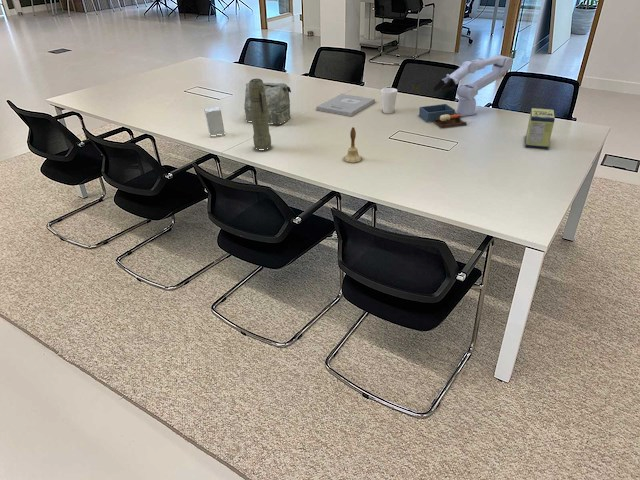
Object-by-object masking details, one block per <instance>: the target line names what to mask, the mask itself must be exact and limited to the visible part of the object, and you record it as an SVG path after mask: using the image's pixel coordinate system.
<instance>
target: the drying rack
mask: <svg viewBox="0 0 640 480" xmlns="http://www.w3.org/2000/svg"><path fill="white" fill-rule="evenodd" d="M455 115H456V113H455ZM467 122H468V121H464V120H462V116H459V117H458V118H454V119H450V120H448V119H446V121H441V120H440V119H437V120H435V121H433V123H434V124H435V125H436V126H438V127H439V128H440V129H445V128H446V129H447V128H454V127H462V126H467Z"/></svg>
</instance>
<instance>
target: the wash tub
mask: <svg viewBox="0 0 640 480" xmlns="http://www.w3.org/2000/svg"><path fill="white" fill-rule="evenodd" d="M455 111H456V109H454V108H453V107H451V106H450V105H448V104H447V103H442V104H433V105H425V106H419V112H418V117H420V118H422V120H423V121H425V122H426V123H432V122H433V123H434V121H435V120H437V119H440V116H441V115H446V114H448V115H455V114H456V113H455Z"/></svg>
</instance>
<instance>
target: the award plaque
mask: <svg viewBox="0 0 640 480" xmlns="http://www.w3.org/2000/svg"><path fill="white" fill-rule="evenodd" d="M374 103H376V99H375V98H372V97H367V96H366V97H364V96H359V95H353V94H347V93H340V94H338V95H336V96H335V97H332V98H331V99H328V100H327V101H325V102H323V103H320V104H319V105H317V106H316V108H315V109H316V111H320V112H325V113H329V114H330V113H331V114H337V115H342V116H348V117H353V116H354V115H355V114H357V113H359V112H360V111H361V112H362V111H363V110H364V109H367V108H368V107H370V106H371V105H373V104H374Z"/></svg>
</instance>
